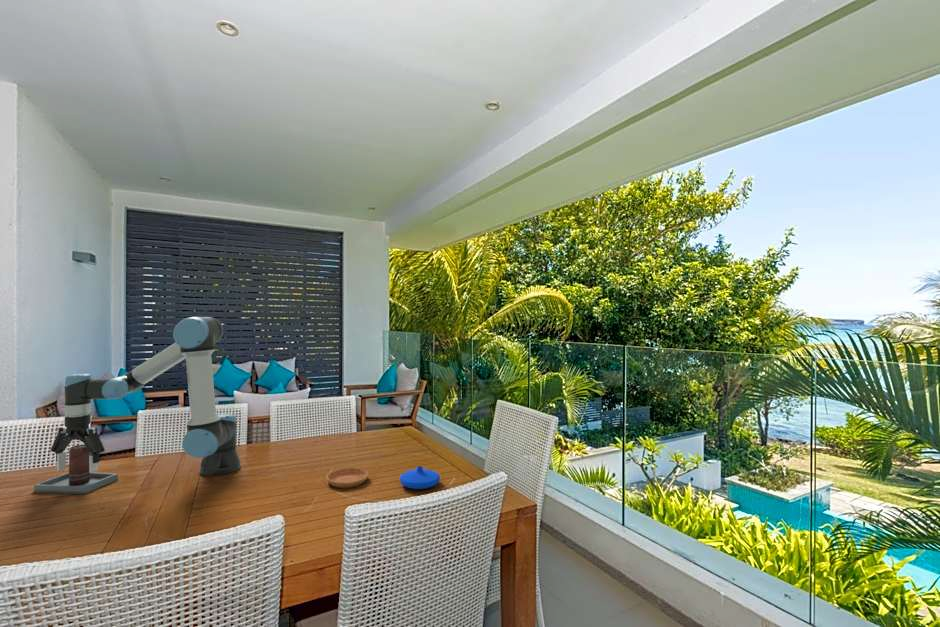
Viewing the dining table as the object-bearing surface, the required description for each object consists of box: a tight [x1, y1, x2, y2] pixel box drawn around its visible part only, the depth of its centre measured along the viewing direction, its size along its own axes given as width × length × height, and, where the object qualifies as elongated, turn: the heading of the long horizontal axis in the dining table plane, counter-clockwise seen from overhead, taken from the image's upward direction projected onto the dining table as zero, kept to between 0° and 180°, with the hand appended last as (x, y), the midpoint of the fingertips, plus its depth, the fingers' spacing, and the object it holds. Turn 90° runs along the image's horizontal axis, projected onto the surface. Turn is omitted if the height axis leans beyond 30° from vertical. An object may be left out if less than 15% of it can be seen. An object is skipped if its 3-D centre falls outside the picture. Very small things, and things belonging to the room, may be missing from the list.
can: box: [68, 444, 91, 486], centre depth 170 cm, size 6×6×14 cm
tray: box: [33, 471, 119, 495], centre depth 169 cm, size 20×14×2 cm
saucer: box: [326, 467, 369, 489], centre depth 176 cm, size 16×16×3 cm
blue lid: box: [399, 465, 441, 490], centre depth 173 cm, size 16×16×7 cm
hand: (77, 470), depth 169 cm, fingers open, 13 cm apart
